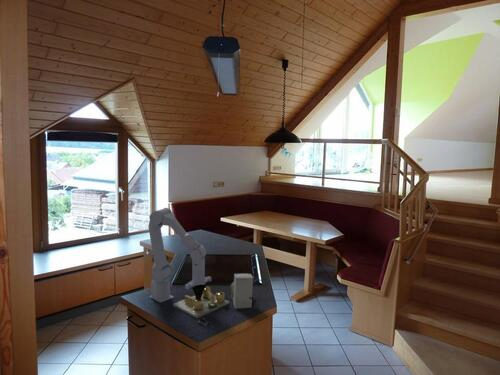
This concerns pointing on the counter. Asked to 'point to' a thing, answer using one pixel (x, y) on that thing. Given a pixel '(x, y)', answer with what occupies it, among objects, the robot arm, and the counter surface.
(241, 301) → the skincare box
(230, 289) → the ceramic mug
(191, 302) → the knob
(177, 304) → the levelling plate
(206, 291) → the knob
